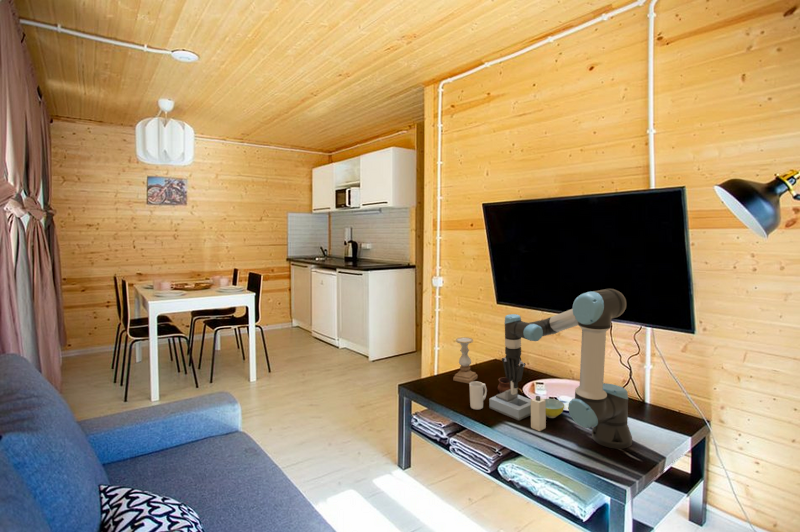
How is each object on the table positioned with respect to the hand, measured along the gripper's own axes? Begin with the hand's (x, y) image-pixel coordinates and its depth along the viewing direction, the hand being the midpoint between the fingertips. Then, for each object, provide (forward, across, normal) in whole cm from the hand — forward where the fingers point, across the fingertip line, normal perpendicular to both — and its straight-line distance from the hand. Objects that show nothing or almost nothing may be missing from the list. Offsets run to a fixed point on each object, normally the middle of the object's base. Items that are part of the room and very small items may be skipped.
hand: (513, 393), depth 213 cm
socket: (+9, 0, 0) cm, 9 cm away
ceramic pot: (+9, +18, -15) cm, 25 cm away
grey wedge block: (+3, +5, 0) cm, 6 cm away
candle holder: (+9, +46, -12) cm, 48 cm away
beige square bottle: (+9, -18, +6) cm, 21 cm away
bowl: (+9, -16, -8) cm, 19 cm away
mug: (+9, +14, +9) cm, 19 cm away
